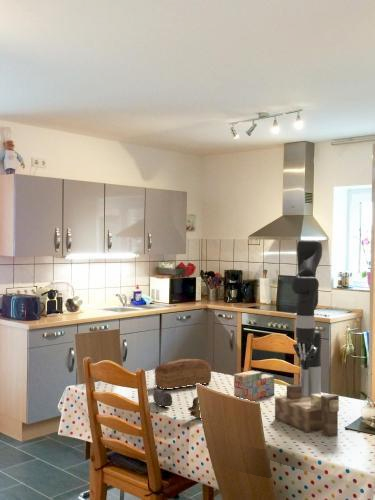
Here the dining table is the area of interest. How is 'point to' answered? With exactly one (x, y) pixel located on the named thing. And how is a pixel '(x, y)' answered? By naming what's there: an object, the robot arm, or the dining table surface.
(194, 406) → the wooden carving
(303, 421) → the brown wooden blocky piece
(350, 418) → the dining table surface
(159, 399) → the perforated stone tool
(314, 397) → the wooden key
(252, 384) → the stack of blocks
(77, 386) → the dining table surface
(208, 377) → the bread
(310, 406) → the lid
